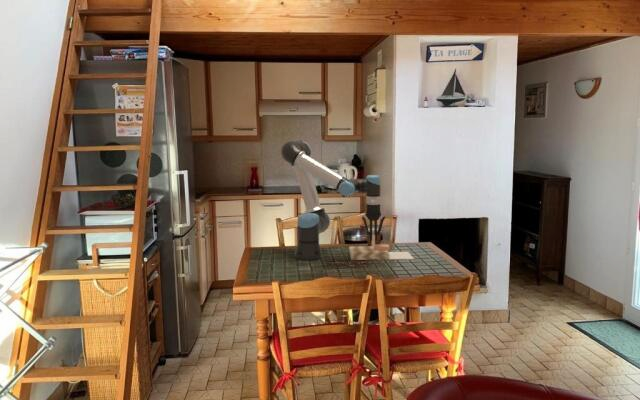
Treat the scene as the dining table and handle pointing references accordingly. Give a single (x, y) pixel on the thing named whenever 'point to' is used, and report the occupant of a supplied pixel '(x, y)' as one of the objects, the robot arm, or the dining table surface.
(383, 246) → the pink flat piece
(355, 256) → the birch board
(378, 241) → the disposable coffee cup
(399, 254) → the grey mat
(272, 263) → the dining table surface
